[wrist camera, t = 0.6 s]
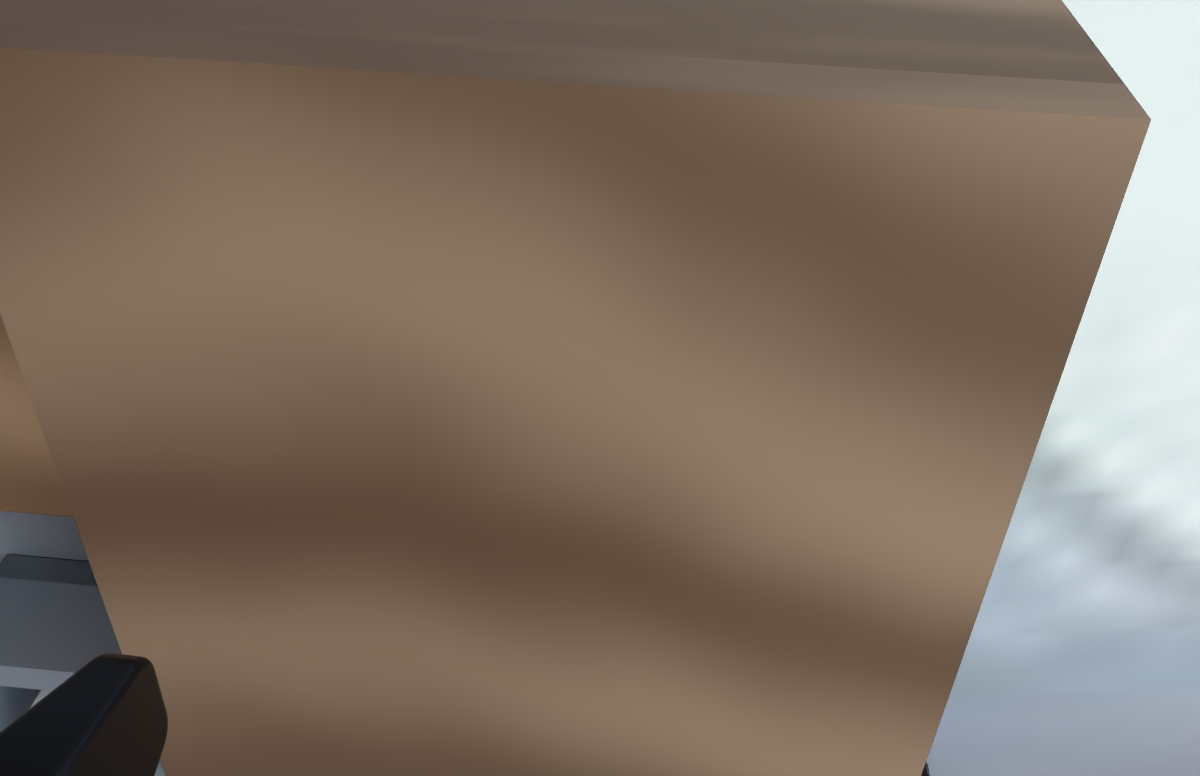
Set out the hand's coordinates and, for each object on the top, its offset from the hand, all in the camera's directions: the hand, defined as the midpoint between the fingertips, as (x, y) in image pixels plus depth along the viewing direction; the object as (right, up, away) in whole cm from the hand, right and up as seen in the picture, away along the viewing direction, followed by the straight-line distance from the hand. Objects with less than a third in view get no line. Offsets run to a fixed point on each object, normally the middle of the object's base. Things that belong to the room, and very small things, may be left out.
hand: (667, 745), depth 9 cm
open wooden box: (-1, +5, +14) cm, 14 cm away
